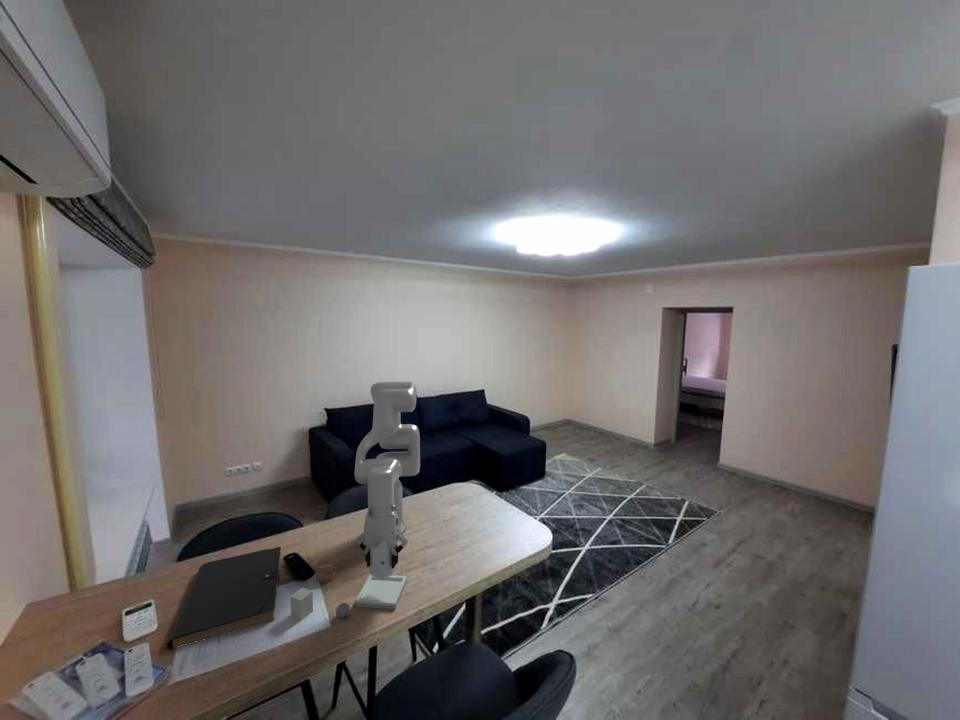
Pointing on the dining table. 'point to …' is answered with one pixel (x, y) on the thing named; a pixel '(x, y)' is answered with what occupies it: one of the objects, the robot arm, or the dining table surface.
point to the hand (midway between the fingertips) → (381, 564)
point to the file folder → (229, 597)
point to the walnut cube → (325, 569)
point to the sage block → (301, 603)
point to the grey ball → (342, 610)
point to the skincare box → (381, 561)
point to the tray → (381, 592)
